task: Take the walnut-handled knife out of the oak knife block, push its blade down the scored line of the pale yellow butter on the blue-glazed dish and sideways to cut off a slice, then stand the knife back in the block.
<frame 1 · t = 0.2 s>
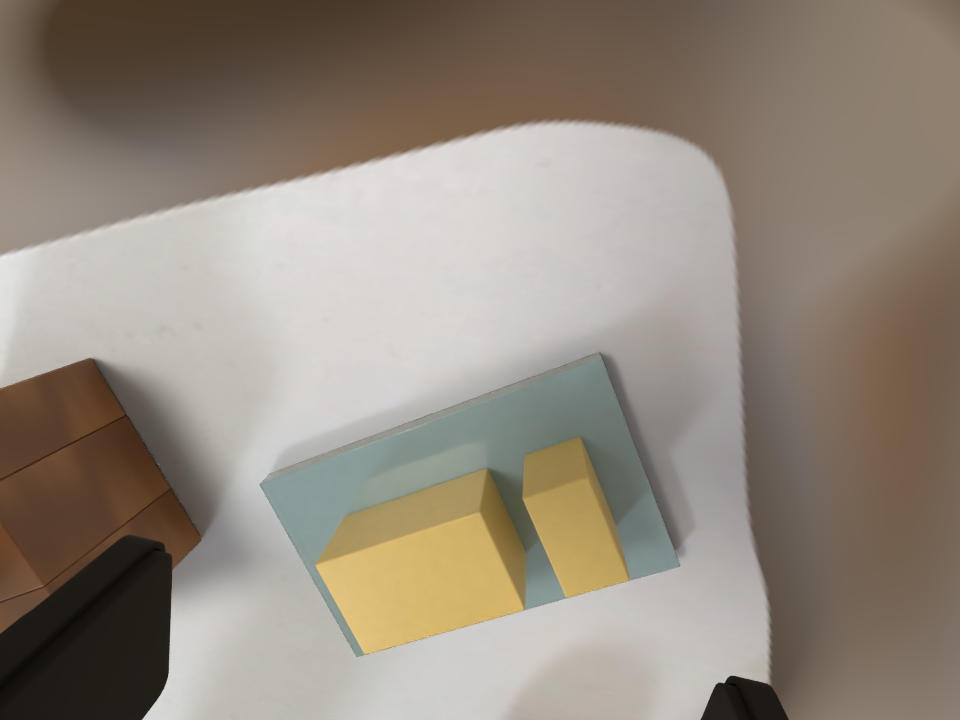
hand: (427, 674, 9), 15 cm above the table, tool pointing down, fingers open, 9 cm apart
knife block: (99, 472, 26), on the table
butter slice: (570, 491, 23), point 1 cm above the table, touching butter dish
butter dish: (468, 512, 25), on the table
butter: (435, 534, 24), point 1 cm above the table, touching butter dish
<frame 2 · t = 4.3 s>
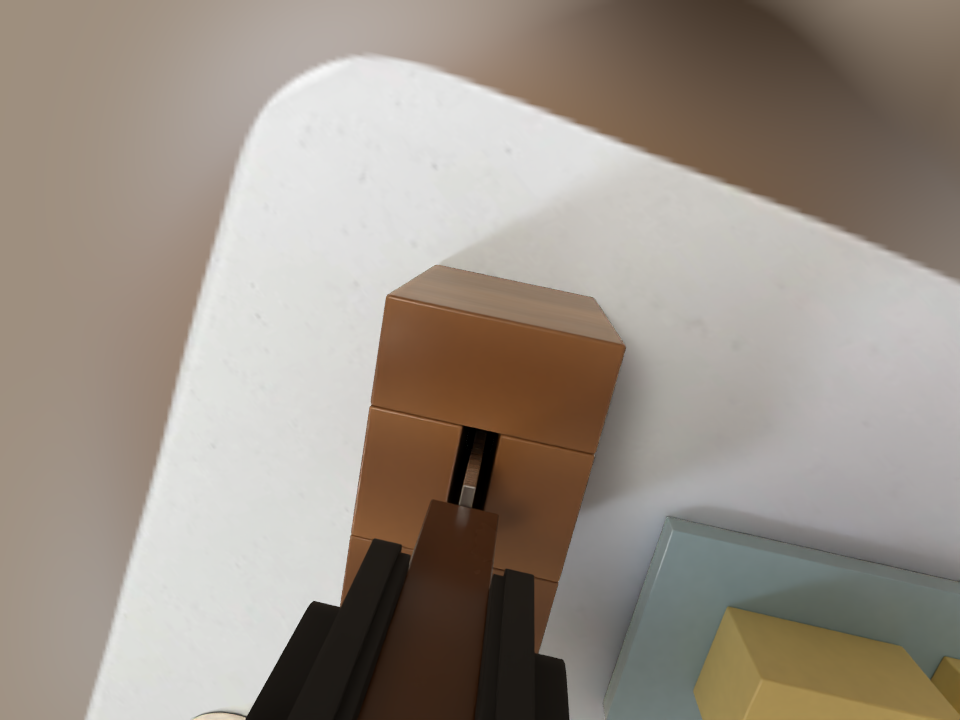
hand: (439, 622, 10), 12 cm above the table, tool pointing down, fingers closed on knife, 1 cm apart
knife block: (487, 405, 21), on the table
butter slice: (949, 705, 22), point 1 cm above the table, touching butter dish
butter dish: (817, 657, 23), on the table
knife: (460, 529, 13), in the knife block, touching gripper
butter: (793, 668, 22), point 1 cm above the table, touching butter dish
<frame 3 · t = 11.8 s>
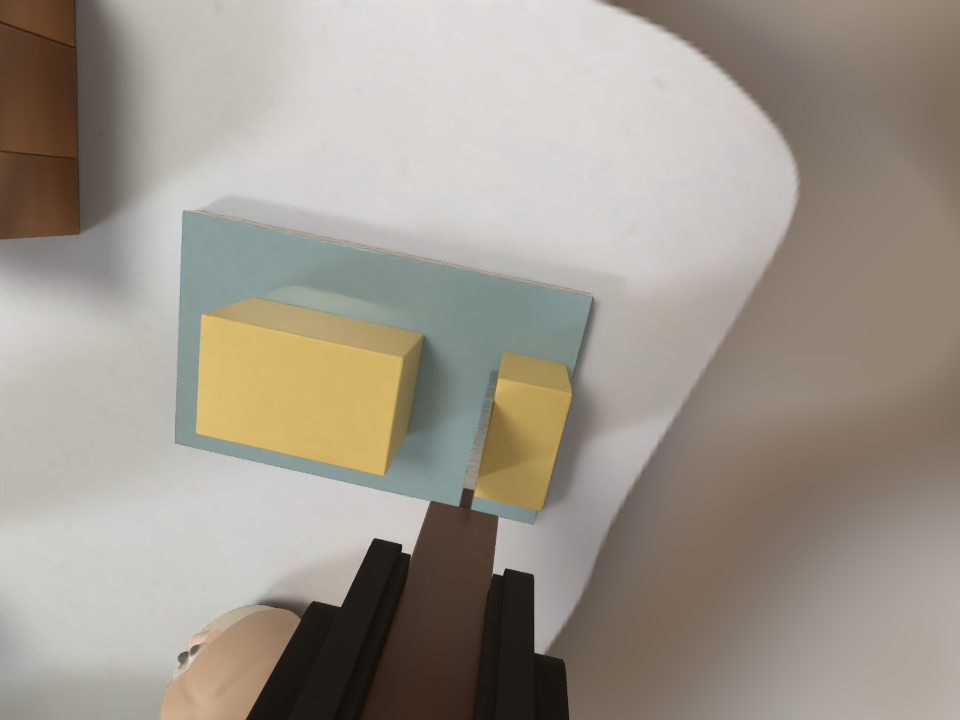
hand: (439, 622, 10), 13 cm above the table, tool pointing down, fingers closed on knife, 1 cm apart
knife block: (4, 90, 21), on the table
butter slice: (522, 410, 22), point 1 cm above the table, touching butter dish
butter dish: (374, 368, 23), on the table
knife: (459, 531, 13), point 10 cm above the table, touching gripper
butter: (331, 368, 22), point 1 cm above the table, touching butter dish
garlic bulb: (277, 631, 27), on the table
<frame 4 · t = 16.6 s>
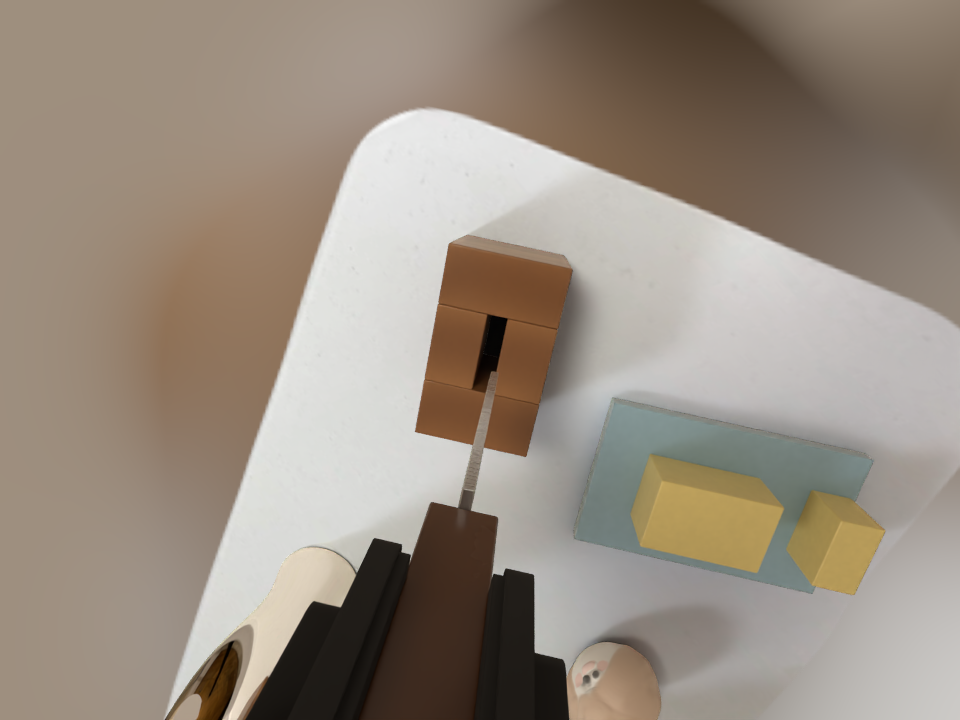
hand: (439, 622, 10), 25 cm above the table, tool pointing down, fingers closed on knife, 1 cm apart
knife block: (498, 325, 34), on the table
butter slice: (817, 524, 34), point 1 cm above the table, touching butter dish
butter dish: (711, 493, 35), on the table
knife: (459, 532, 13), point 22 cm above the table, touching gripper
butter: (693, 496, 34), point 1 cm above the table, touching butter dish
garlic bulb: (606, 658, 40), on the table
beer glass: (320, 579, 40), on the table
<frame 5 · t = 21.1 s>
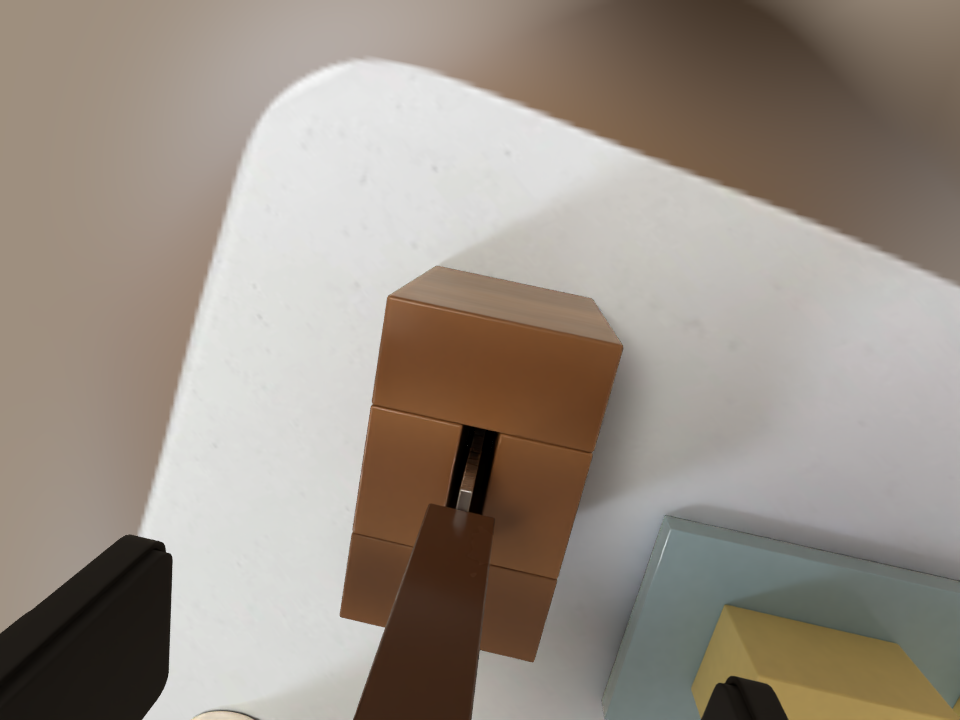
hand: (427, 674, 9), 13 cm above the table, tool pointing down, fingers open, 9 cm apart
knife block: (487, 405, 21), on the table
butter dish: (814, 655, 23), on the table
knife: (457, 533, 13), in the knife block
butter: (790, 666, 22), point 1 cm above the table, touching butter dish
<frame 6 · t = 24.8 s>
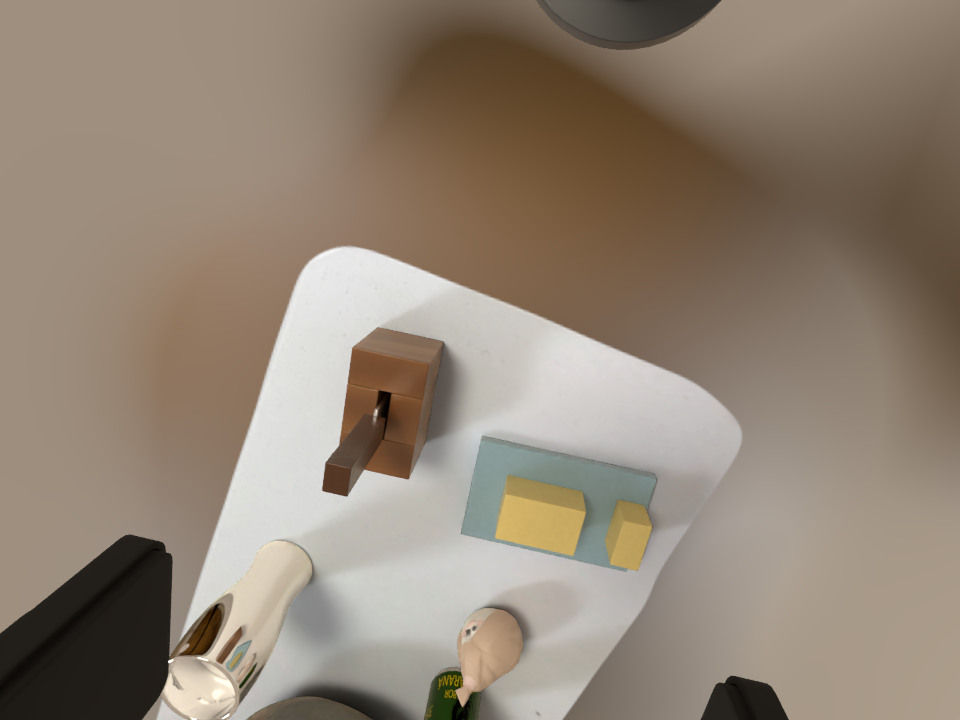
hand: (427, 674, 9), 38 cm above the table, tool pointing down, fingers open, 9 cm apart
knife block: (402, 386, 49), on the table
butter slice: (624, 523, 49), point 1 cm above the table, touching butter dish
butter dish: (555, 501, 51), on the table
knife: (375, 425, 41), in the knife block
butter: (539, 504, 50), point 1 cm above the table, touching butter dish
garlic bulb: (491, 620, 55), on the table
green soda can: (456, 683, 58), on the table
beer glass: (285, 564, 56), on the table
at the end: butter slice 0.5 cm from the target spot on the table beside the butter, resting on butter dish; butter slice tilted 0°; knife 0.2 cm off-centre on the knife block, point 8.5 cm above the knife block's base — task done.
